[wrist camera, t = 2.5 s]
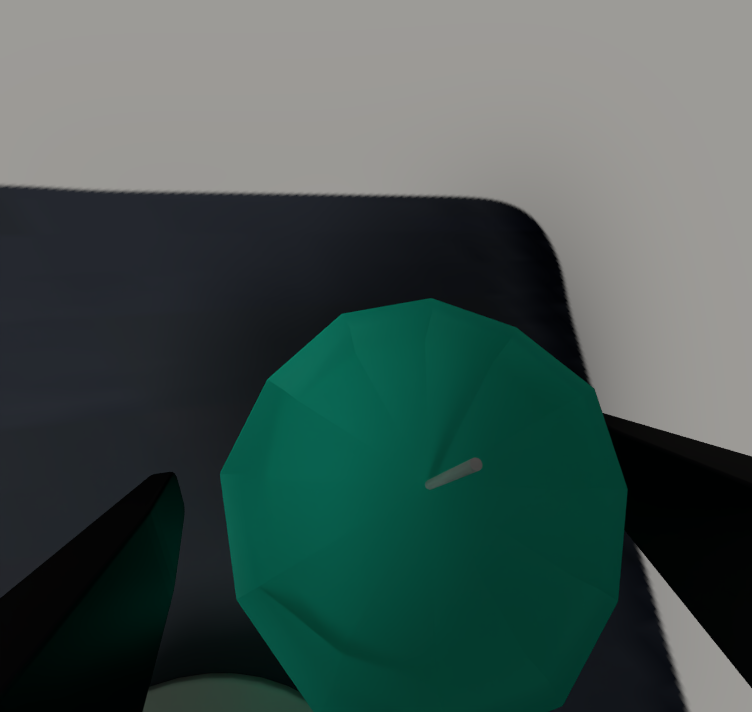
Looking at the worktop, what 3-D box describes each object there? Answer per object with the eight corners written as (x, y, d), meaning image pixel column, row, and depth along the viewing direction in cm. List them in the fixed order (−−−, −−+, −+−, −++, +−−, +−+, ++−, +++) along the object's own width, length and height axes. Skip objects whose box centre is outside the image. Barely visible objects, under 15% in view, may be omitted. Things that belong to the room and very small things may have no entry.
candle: (392, 410, 17) (524, 190, 6) (470, 548, 15) (848, 583, 4) (254, 480, 15) (100, 344, 4) (325, 646, 14) (361, 1108, 3)
